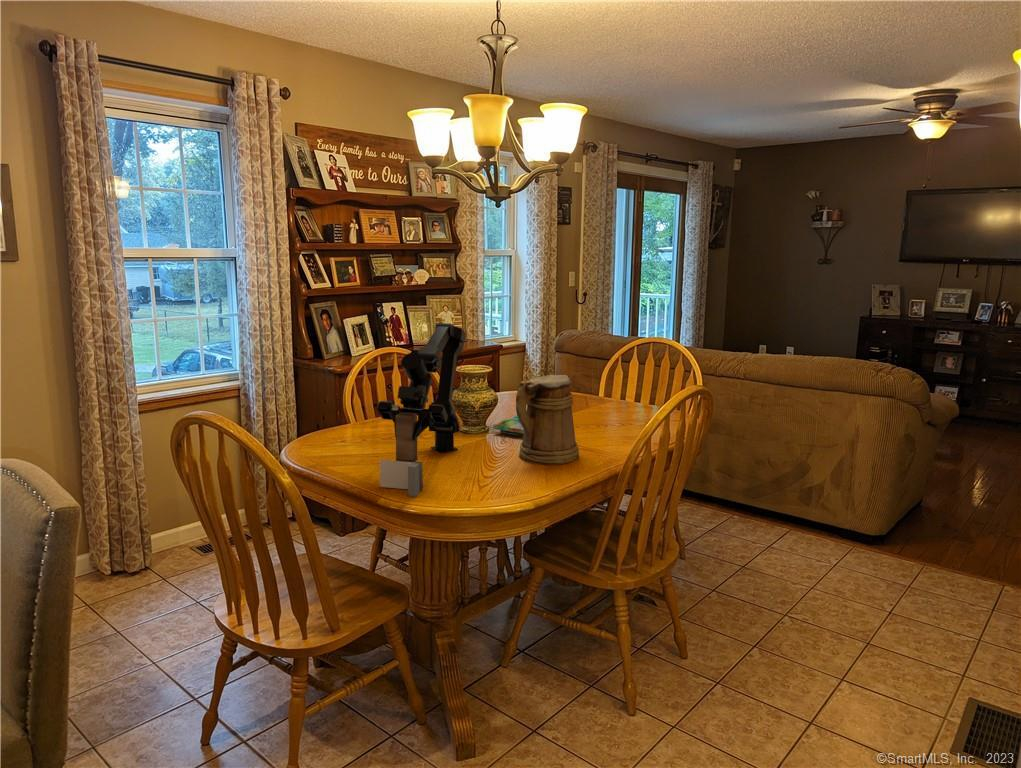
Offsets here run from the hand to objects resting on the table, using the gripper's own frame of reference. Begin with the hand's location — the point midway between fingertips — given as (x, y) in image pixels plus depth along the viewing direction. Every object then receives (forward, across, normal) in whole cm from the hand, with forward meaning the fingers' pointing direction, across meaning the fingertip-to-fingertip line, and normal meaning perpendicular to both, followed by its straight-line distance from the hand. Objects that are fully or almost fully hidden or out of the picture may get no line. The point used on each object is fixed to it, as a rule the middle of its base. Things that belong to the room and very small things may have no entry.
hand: (404, 439), depth 187 cm
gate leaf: (+11, 0, +6) cm, 13 cm away
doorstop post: (+4, 0, +6) cm, 7 cm away
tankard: (-15, +32, +33) cm, 48 cm away
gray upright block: (+14, +5, +4) cm, 15 cm away
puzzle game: (-35, +19, +54) cm, 68 cm away
